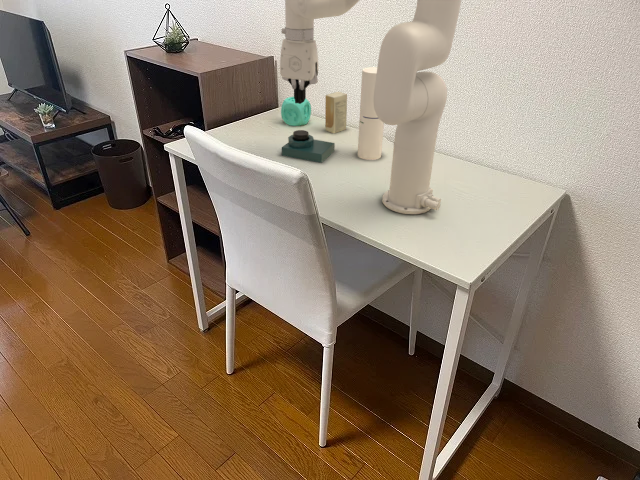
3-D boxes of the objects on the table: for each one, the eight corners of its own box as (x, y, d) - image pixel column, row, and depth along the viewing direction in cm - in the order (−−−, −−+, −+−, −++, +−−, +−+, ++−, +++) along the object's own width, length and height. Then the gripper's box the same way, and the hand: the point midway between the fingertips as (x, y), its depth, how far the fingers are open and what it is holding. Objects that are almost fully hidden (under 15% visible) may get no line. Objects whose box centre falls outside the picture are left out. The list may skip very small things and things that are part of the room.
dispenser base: (334, 151, 151) (334, 137, 148) (321, 163, 143) (321, 148, 140) (296, 144, 155) (296, 130, 152) (281, 155, 147) (281, 141, 145)
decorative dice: (291, 117, 177) (290, 95, 173) (311, 120, 174) (311, 98, 170) (281, 124, 171) (280, 101, 167) (301, 127, 168) (301, 104, 164)
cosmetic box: (337, 126, 170) (338, 90, 163) (346, 129, 167) (348, 93, 160) (324, 130, 166) (324, 94, 159) (333, 134, 163) (334, 97, 157)
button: (311, 137, 148) (311, 131, 147) (304, 143, 145) (304, 136, 144) (297, 135, 150) (297, 129, 149) (290, 140, 146) (290, 134, 145)
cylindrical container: (373, 162, 144) (379, 74, 130) (352, 156, 147) (357, 70, 134) (385, 154, 149) (393, 69, 135) (365, 149, 152) (371, 65, 139)
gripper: (268, 34, 131) (270, 102, 141) (319, 40, 126) (318, 109, 136) (281, 29, 137) (282, 95, 147) (330, 35, 132) (328, 102, 142)
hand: (299, 102), depth 142 cm, fingers closed
